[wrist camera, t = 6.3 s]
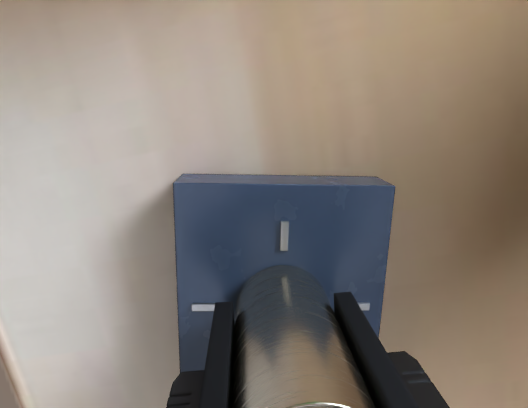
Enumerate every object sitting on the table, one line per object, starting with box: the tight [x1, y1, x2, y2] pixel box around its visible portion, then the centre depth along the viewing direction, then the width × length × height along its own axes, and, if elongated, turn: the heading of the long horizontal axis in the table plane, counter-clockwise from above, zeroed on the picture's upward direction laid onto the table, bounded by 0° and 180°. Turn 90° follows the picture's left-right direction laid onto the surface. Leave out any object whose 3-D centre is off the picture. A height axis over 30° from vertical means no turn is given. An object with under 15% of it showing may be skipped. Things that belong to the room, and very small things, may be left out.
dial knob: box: [231, 265, 376, 408], centre depth 13 cm, size 4×4×9 cm
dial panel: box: [173, 174, 395, 373], centre depth 19 cm, size 12×10×3 cm
